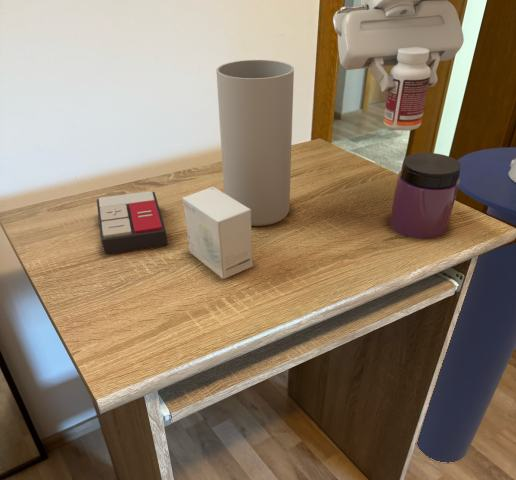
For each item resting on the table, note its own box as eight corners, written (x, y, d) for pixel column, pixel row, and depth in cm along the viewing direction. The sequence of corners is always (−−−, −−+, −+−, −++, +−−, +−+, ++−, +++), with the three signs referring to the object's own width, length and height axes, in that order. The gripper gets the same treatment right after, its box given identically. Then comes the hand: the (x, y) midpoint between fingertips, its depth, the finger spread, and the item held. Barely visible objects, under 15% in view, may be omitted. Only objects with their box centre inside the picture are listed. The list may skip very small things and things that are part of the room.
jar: (424, 208, 96) (437, 151, 88) (458, 232, 88) (476, 173, 81) (378, 217, 93) (388, 160, 86) (410, 243, 86) (423, 183, 78)
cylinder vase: (266, 193, 101) (266, 56, 85) (301, 216, 94) (309, 71, 77) (213, 208, 97) (202, 66, 80) (246, 234, 89) (241, 83, 72)
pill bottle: (425, 123, 82) (440, 47, 75) (413, 134, 78) (427, 56, 71) (390, 117, 85) (401, 44, 77) (376, 127, 81) (387, 51, 73)
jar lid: (435, 162, 89) (438, 149, 87) (469, 182, 82) (473, 169, 81) (390, 170, 87) (392, 157, 85) (421, 192, 80) (425, 177, 78)
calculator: (99, 236, 81) (95, 194, 91) (105, 258, 84) (100, 215, 94) (165, 226, 83) (153, 187, 94) (168, 248, 86) (157, 207, 97)
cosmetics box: (187, 253, 84) (180, 196, 77) (218, 241, 87) (214, 185, 80) (221, 280, 78) (217, 220, 71) (254, 267, 81) (252, 207, 73)
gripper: (337, -8, 72) (357, 81, 72) (458, -16, 76) (478, 68, 76) (324, 23, 79) (342, 105, 78) (436, 14, 82) (455, 92, 82)
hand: (410, 87), depth 77 cm, fingers closed on pill bottle, 6 cm apart
